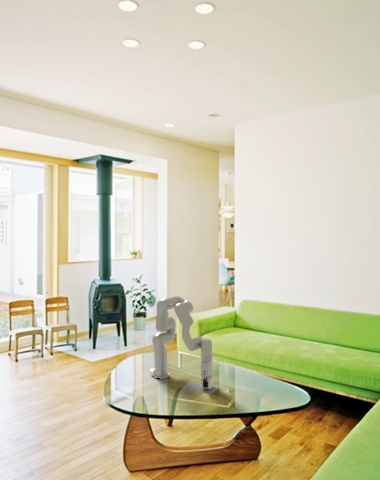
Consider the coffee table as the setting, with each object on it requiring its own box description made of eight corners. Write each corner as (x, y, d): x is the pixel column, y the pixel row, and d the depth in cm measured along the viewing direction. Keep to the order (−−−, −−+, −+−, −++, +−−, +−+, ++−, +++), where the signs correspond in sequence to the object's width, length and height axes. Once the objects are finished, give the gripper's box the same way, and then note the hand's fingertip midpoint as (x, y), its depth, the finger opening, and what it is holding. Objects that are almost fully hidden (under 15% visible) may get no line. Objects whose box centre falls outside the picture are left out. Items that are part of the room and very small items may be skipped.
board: (180, 391, 260) (180, 389, 260) (189, 382, 274) (189, 381, 274) (212, 395, 251) (212, 393, 251) (219, 386, 265) (219, 385, 265)
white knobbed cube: (201, 387, 259) (200, 377, 259) (204, 383, 265) (204, 373, 265) (210, 388, 256) (210, 378, 256) (214, 385, 262) (213, 374, 262)
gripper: (206, 353, 270) (206, 379, 270) (196, 361, 254) (197, 389, 254) (216, 354, 267) (217, 381, 267) (207, 363, 251) (208, 391, 251)
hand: (207, 385), depth 261 cm, fingers closed on white knobbed cube, 6 cm apart
